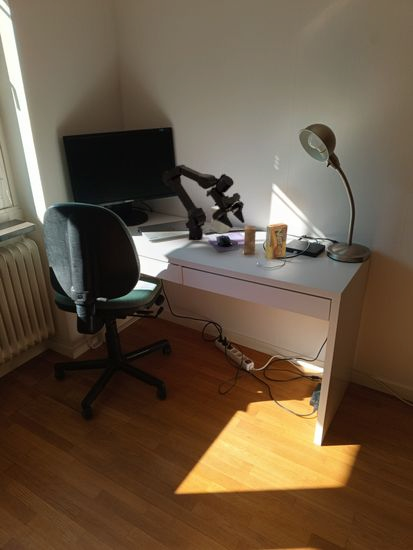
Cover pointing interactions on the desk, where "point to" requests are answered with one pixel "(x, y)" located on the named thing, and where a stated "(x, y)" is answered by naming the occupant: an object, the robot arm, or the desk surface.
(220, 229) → the small box
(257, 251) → the grey flat square plate
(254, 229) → the walnut block
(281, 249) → the candy box
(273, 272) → the desk surface
